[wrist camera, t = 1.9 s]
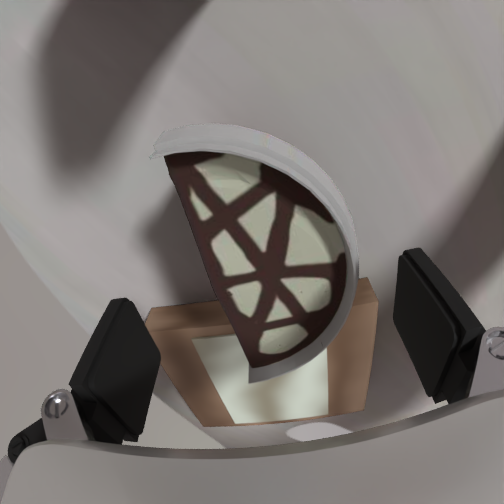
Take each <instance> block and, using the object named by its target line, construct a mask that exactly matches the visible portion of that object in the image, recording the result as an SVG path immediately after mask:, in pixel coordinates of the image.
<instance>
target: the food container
mask: <svg viewBox="0 0 504 504" xmlns="http://www.w3.org/2000/svg"><path fill="white" fill-rule="evenodd" d="M153 146H154V149H155V151H156V152H154V153H153V154H152V155H151V156H150V157H149V158H150V159H153V158H157V157H161V156H164V158H165V162H166V165H167V167H168V171H169V175H170V178H171V179H172V181H173V183H174V185H175V187H176V190H177V192H178V194H179V197H180V199H181V202H182V205H183V208H184V210H185V213H186V216H187V218H188V221H189V224H190V226H191V229H192V232H193V235H194V237H195V240H196V243H197V246H198V248H199V251H200V254H201V257H202V260H203V263H204V265H205V268H206V271H207V274H208V277H209V279H210V282H211V285H212V288H213V290H214V292H215V294H216V296H217V298H218V300H219V302H220V304H221V306H222V308H223V310H224V312H225V314H226V315H227V317H228V319H229V321H230V323H231V325H232V327H233V329H234V332H235V334H236V336H237V338H238V340H239V343H240V345H241V347H242V349H243V351H244V354H245V356H246V358H247V360H248V362H249V375H248V383H249V384H251V383H257V382H263V381H267V380H270V379H273V378H277V377H280V376H283V375H285V374H287V373H290V372H292V371H294V370H296V369H298V368H300V367H301V366H303V365H305V364H306V363H308V362H310V361H311V360H313V359H314V358H315V357H316V356H318V355H319V354H320V353H321V352H322V351H324V350H325V349H326V348H327V346H328V345H329V344H330V343H331V342H332V341H333V340H334V339H335V338H336V336H337V335H338V333H339V332H340V330H341V329H342V327H343V325H344V324H345V322H346V320H347V317H348V315H349V313H350V310H351V308H352V304H353V300H354V297H355V294H356V289H357V284H358V279H359V255H358V246H357V238H356V233H355V229H354V224H353V219H352V216H351V214H350V212H349V209H348V207H347V204H346V202H345V200H344V198H343V196H342V194H341V193H340V191H339V190H338V188H337V187H336V185H335V184H334V182H333V181H332V179H331V178H330V177H329V176H328V175H327V174H326V173H325V172H324V171H323V170H322V169H321V168H320V167H319V166H318V165H317V164H316V163H315V162H314V161H313V160H312V159H311V158H310V157H308V156H307V155H305V154H304V153H303V152H301V151H300V150H298V149H297V148H295V147H294V146H293V145H291V144H289V143H287V142H285V141H283V140H281V139H279V138H276V137H274V136H272V135H270V134H268V133H265V132H261V131H258V130H254V129H250V128H247V127H243V126H238V125H227V124H216V123H209V124H198V125H187V126H182V127H179V128H175V129H171V130H168V131H164V132H163V133H162V134H161V135H160V137H159V138H158V139H157V141H156V142H155V144H154V145H153Z"/></svg>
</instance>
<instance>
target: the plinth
mask: <svg viewBox="0 0 504 504" xmlns="http://www.w3.org/2000/svg"><path fill="white" fill-rule="evenodd" d="M377 313H378V299H377V297H376V295H375V293H374V291H373V288H372V286H371V284H370V282H369V280H368V278H367V277H366V278H361V279H358V284H357V289H356V294H355V297H354V300H353V304H352V308H351V310H350V313H349V315H348V317H347V320H346V322H345V324H344V325H343V327H342V329H341V330H340V332H339V333H338V335H337V336H336V338H335V339H334V340H333V341H332V342H331V343H330V344H329V345H328V346H327V348H326V349H325V350H324V351H322V352H321V353H320V354H319V355H318V356H316V357H315V358H314V359H313V360H311V361H310V362H308V363H306V364H305V365H303V366H301V367H300V368H298V369H296V370H294V371H292V372H290V373H287V374H285V375H283V376H280V377H277V378H273V379H270V380H267V381H263V382H257V383H251V384H249V383H248V375H249V362H248V360H247V358H246V356H245V354H244V351H243V349H242V347H241V345H240V343H239V340H238V338H237V336H236V334H235V332H234V329H233V327H232V325H231V323H230V321H229V319H228V317H227V315H226V314H225V312H224V310H223V308H222V306H221V304H220V302H219V300H217V301H209V302H200V303H192V304H183V305H174V306H165V307H156V308H151V311H150V313H149V316H148V318H147V320H146V323H145V326H146V328H147V329H148V331H149V333H150V335H151V337H152V338H153V340H154V342H155V344H156V346H157V347H158V349H159V351H160V354H161V362H160V364H161V365H162V367H163V369H164V370H165V372H166V373H167V375H168V376H169V378H170V379H171V381H172V383H173V384H174V386H175V387H176V389H177V390H178V392H179V393H180V394H181V396H182V397H183V399H184V400H185V402H186V403H187V405H188V406H189V407H190V409H191V410H192V412H193V413H194V414H195V416H196V417H197V419H198V420H199V421H200V423H201V424H202V425H203V427H221V426H248V425H263V424H275V423H286V422H295V421H303V420H310V419H317V418H324V417H330V416H336V415H342V414H347V413H352V412H357V411H362V410H364V407H365V402H366V396H367V391H368V385H369V379H370V372H371V365H372V358H373V350H374V342H375V334H376V324H377Z"/></svg>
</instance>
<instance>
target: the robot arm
mask: <svg viewBox="0 0 504 504" xmlns="http://www.w3.org/2000/svg"><path fill="white" fill-rule="evenodd" d="M393 320H394V324H395V326H396V328H397V330H398V332H399V334H400V336H401V338H402V341H403V343H404V345H405V347H406V349H407V351H408V353H409V355H410V358H411V360H412V362H413V364H414V366H415V369H416V371H417V373H418V375H419V378H420V380H421V382H422V385H423V387H424V389H425V392H426V394H427V395H428V397H431V396H432V397H433V400H434V402H435V404H436V403H439V402H441V401H444V400H446V399H447V402H448V405H446V406H443V407H440V408H437V409H434V410H432V411H429V412H426V413H423V414H419V415H416V416H413V417H410V418H406V419H403V420H400V421H396V422H393V423H389V424H386V425H382V426H378V427H374V428H371V429H367V430H362V431H358V432H354V433H349V434H345V435H340V436H335V437H329V438H323V439H318V440H312V441H305V442H298V443H291V444H283V445H274V446H263V447H250V448H233V449H170V448H153V447H152V448H151V447H141V446H130V445H122V442H123V440H124V441H131V442H137V441H138V437H139V435H140V434H142V432H143V429H144V425H145V421H146V416H147V412H148V408H149V404H150V400H151V396H152V392H153V388H154V384H155V381H156V377H157V373H158V369H159V366H160V362H161V354H160V351H159V349H158V347H157V346H156V344H155V342H154V340H153V338H152V337H151V335H150V333H149V331H148V329H147V328H146V326H145V324H144V322H143V320H142V318H141V316H140V314H139V313H138V311H137V309H136V307H135V305H134V303H133V302H132V301H129V300H128V299H127V298H119V299H113V300H111V301H110V303H109V305H108V306H107V308H106V310H105V312H104V314H103V316H102V317H101V319H100V321H99V323H98V325H97V327H96V329H95V331H94V333H93V335H92V337H91V338H90V341H89V342H88V345H87V346H86V348H85V350H84V352H83V354H82V357H81V359H80V361H79V363H78V365H77V367H76V369H75V371H74V373H73V375H72V378H71V380H70V382H69V385H70V386H71V388H72V390H71V392H69V391H68V390H65V389H58V390H56V391H54V392H52V393H51V394H49V395H48V397H46V399H45V400H44V402H43V404H42V408H41V416H42V418H41V419H39V420H38V421H36V422H35V423H33V424H32V425H31V426H29V427H27V428H26V429H24V430H23V431H21V432H20V433H18V434H17V435H16V436H14V437H13V438H12V440H11V441H10V443H9V447H8V456H6V455H5V456H4V457H3V458H2V459H1V461H0V504H504V327H493V328H490V329H489V330H487V331H486V330H485V329H484V327H483V326H482V324H481V323H480V322H479V320H478V319H477V318H476V316H475V315H474V313H473V312H472V311H471V309H470V308H469V307H468V305H467V304H466V303H465V301H464V300H463V299H462V297H461V296H460V295H459V294H458V292H457V291H456V290H455V289H454V287H453V286H452V285H451V284H450V282H449V281H448V280H447V279H446V277H445V276H444V275H443V274H442V273H441V271H440V270H439V269H438V268H437V267H436V265H435V264H434V263H433V262H432V261H431V260H430V258H429V257H428V256H427V255H426V254H425V253H424V252H423V250H422V249H421V248H414V249H409V250H405V251H404V252H403V255H401V256H399V260H398V273H397V284H396V294H395V303H394V312H393Z"/></svg>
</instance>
